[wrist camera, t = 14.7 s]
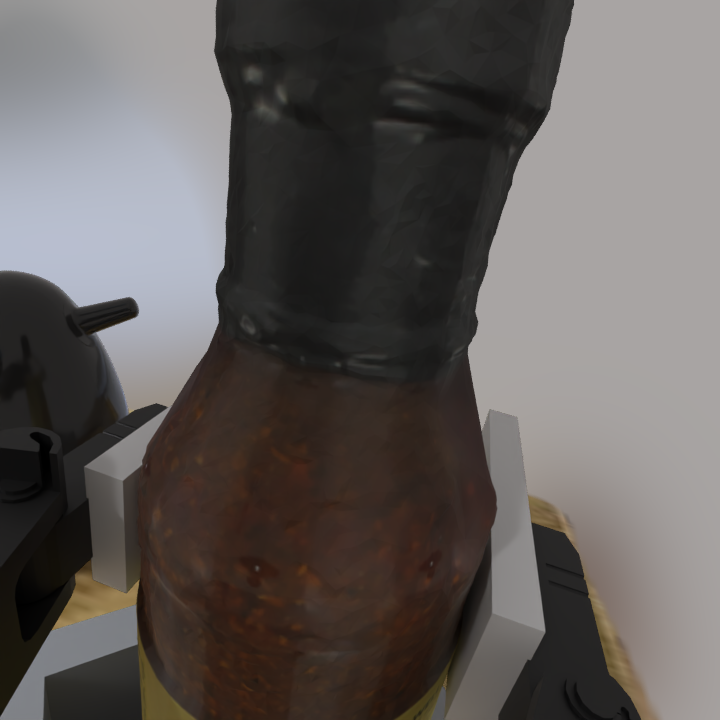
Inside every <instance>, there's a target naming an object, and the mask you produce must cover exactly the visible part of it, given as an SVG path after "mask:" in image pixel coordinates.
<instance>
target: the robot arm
mask: <svg viewBox="0 0 720 720" xmlns="http://www.w3.org/2000/svg"><path fill="white" fill-rule="evenodd" d="M171 407H172V405H171V406H170V407H166V406H163V405H160V404H157V403H156V404H153V405H150V406H147V407H144V408H141V409H137V410H134V411H133V412H131V413H130V414H128V415H127V416H125V417H124V418H122V419H120V420H119V421H118V422H117V424H113V425H111V426H110V427H108V428H107V429H105V430H103V433H99V434H97V435H96V436H94V437H93V438H91V439H89V440H88V441H86V442H85V443H83V444H82V445H80V446H79V447H77V448H76V449H74V450H72V451H71V452H69V453H68V454H66V455H65V456H63V452H62V443H61V439H60V436H58V435H57V434H55V433H54V432H53V431H51V430H47V429H43V428H39V427H18V428H12V429H6V430H1V431H0V717H1V715H2V713H3V712H4V710H5V708H6V706H7V705H8V703H9V701H10V700H11V698H12V696H13V695H14V693H15V691H16V689H17V688H18V686H19V684H20V683H21V681H22V679H23V678H24V676H25V674H26V672H27V671H28V669H29V667H30V666H31V664H32V662H33V661H34V659H35V657H36V655H37V654H38V652H39V650H40V649H41V647H42V645H43V644H44V642H45V640H46V638H47V637H48V635H49V633H50V632H51V630H52V628H53V627H54V625H55V623H56V622H57V620H58V618H59V616H60V615H61V613H62V611H63V610H64V608H65V606H66V605H67V603H68V601H69V599H70V598H71V596H72V593H73V590H74V588H75V585H76V584H75V573H76V572H77V571H78V570H79V569H80V568H82V567H83V566H84V565H85V564H86V563H87V562H88V561H89V560H90V559H91V564H92V577H93V580H95V581H97V582H100V583H102V584H105V585H107V586H110V587H112V588H115V589H117V590H119V591H122V592H124V593H127V592H128V591H129V590H130V589H131V588H132V587H133V585H134V584H135V583H136V582H137V581H138V580H139V579H140V571H141V547H140V546H139V545H138V541H139V538H138V527H137V519H138V516H139V512H138V503H137V501H138V494H137V492H138V487H139V476H140V473H141V468H142V459H143V457H144V455H145V453H146V447H147V445H148V443H149V441H150V440H151V438H152V437H153V435H154V434H155V432H156V431H157V429H158V428H159V426H160V424H161V423H162V421H163V420H164V418H165V416H166V415H167V413H168V412H169V410H170V408H171ZM482 437H483V443H484V448H485V454H486V460H487V465H488V469H489V473H490V476H491V480H492V484H493V486H494V489H495V491H496V496H497V503H496V504H497V508H498V509H497V513H496V517H495V522H494V525H493V526H492V528H491V530H490V533H489V537H488V541H487V544H486V547H485V550H484V554H483V558H482V561H481V563H480V565H479V568H478V570H477V572H476V574H475V577H474V581H473V584H472V586H471V588H470V592H469V593H468V595H467V598H466V601H465V604H464V607H463V620H462V629H461V634H460V638H459V642H458V645H457V648H456V650H455V653H454V656H453V658H452V661H451V664H450V667H449V669H448V675H447V687H446V700H445V712H444V720H641V718H640V716H639V714H638V712H637V710H636V708H635V706H634V704H633V702H632V700H631V698H630V697H629V696H628V694H627V693H626V692H625V691H624V690H623V688H622V687H621V686H620V685H619V684H618V682H617V681H616V680H615V679H614V678H613V677H611V676H610V675H609V672H608V669H607V665H606V661H605V657H604V653H603V649H602V645H601V641H600V637H599V633H598V629H597V625H596V621H595V617H594V613H593V609H592V605H591V601H590V598H588V594H589V593H588V589H587V585H586V581H585V580H584V573H583V569H582V565H581V561H580V557H579V554H578V552H577V551H576V549H575V548H574V546H573V545H572V543H571V542H570V541H569V539H568V538H567V536H566V535H565V533H563V532H559V531H556V530H553V529H550V528H547V527H544V526H541V525H538V524H535V523H531V517H530V510H529V502H528V494H527V487H526V479H525V471H524V464H523V456H522V450H521V441H520V433H519V426H518V418H517V417H515V416H512V415H508V414H505V413H501V412H498V411H494V410H489V413H488V416H487V418H486V422H485V424H484V427H483V430H482Z"/></svg>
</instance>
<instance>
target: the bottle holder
mask: <svg viewBox="0 0 720 720" xmlns="http://www.w3.org/2000/svg"><path fill="white" fill-rule="evenodd" d="M445 700H446V690H445V689H444V687H443V686H442V688H441V691H440V694H439V697H438V700H437V703H436V706H435V709H434V712H433V715H432V718H431V720H444V712H445ZM0 720H142V705H141V687H140V669H139V654H138V641H137V615H136V605H133V606H130V607H127V608H124V609H120V610H117V611H114V612H111V613H107V614H104V615H101V616H98V617H94V618H91V619H88V620H85V621H81V622H78V623H75V624H72V625H68V626H65V627H62V628H58V629H55V630H52V631H51V632H50V633H49V635H48V637H47V638H46V640H45V642H44V644H43V645H42V647H41V649H40V650H39V652H38V654H37V655H36V657H35V659H34V661H33V662H32V664H31V666H30V667H29V669H28V671H27V672H26V674H25V676H24V678H23V679H22V681H21V683H20V684H19V686H18V688H17V689H16V691H15V693H14V695H13V696H12V698H11V700H10V701H9V703H8V705H7V706H6V708H5V710H4V712H3V713H2V715H1V717H0Z"/></svg>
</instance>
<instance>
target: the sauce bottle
mask: <svg viewBox="0 0 720 720" xmlns="http://www.w3.org/2000/svg"><path fill="white" fill-rule="evenodd" d="M573 6H574V0H217V5H216V41H215V49H214V52H215V56H216V59H217V63H218V66H219V70H220V73H221V77H222V80H223V83H224V86H225V89H226V92H227V94H228V97H229V100H230V105H231V112H232V118H231V132H230V154H229V188H228V199H227V217H226V247H225V266H224V268H223V270H222V271H221V273H220V274H219V277H218V280H217V283H216V295H217V300H218V303H219V305H218V312H219V313H218V314H219V324H218V326H217V329H216V331H215V334H214V336H213V339H212V341H211V343H210V346H209V348H208V351H207V352H206V354H205V355H204V357H203V358H202V359H201V361H200V362H199V364H198V365H197V366H196V368H195V370H194V372H193V373H192V374H191V376H190V378H189V380H188V381H187V383H186V384H185V386H184V388H183V389H182V391H181V392H180V394H179V395H178V397H177V399H176V400H175V402H174V403H173V405H172V407H171V408H170V410H169V412H168V413H167V415H166V416H165V418H164V420H163V421H162V423H161V424H160V426H159V428H158V429H157V431H156V432H155V434H154V435H153V437H152V438H151V440H150V441H149V443H148V445H147V447H146V453H145V455H144V457H143V459H142V468H141V473H140V476H139V487H138V492H137V494H138V501H137V503H138V512H139V516H138V519H137V527H138V538H139V541H138V545H139V546H140V547H141V571H140V581H139V588H138V594H137V603H136V615H137V641H138V654H139V669H140V687H141V705H142V720H431V718H432V715H433V712H434V709H435V706H436V703H437V700H438V697H439V694H440V691H441V688H442V686H443V683H444V680H445V678H446V675H447V672H448V669H449V667H450V664H451V661H452V658H453V656H454V653H455V650H456V648H457V645H458V642H459V638H460V634H461V629H462V620H463V607H464V604H465V601H466V598H467V595H468V593H469V592H470V588H471V586H472V584H473V581H474V577H475V574H476V572H477V570H478V568H479V565H480V563H481V561H482V558H483V554H484V550H485V547H486V544H487V541H488V537H489V533H490V530H491V528H492V526H493V525H494V522H495V517H496V513H497V509H498V508H497V504H496V503H497V496H496V491H495V489H494V486H493V484H492V480H491V476H490V473H489V469H488V465H487V460H486V454H485V448H484V443H483V437H482V431H481V426H480V421H479V415H478V410H477V405H476V399H475V394H474V388H473V382H472V377H471V371H470V365H469V359H468V346H469V344H470V343H471V341H472V338H473V337H474V336H475V334H476V330H477V326H478V320H477V317H476V313H475V309H476V303H477V296H478V292H479V289H480V286H481V284H482V281H483V278H484V276H485V272H486V269H487V266H488V255H489V250H490V247H491V244H492V241H493V237H494V235H495V233H496V229H497V227H498V223H499V220H500V217H501V214H502V210H503V207H504V205H505V202H506V199H507V195H508V192H509V190H510V188H511V185H512V179H513V174H514V172H515V169H516V166H517V163H518V161H519V159H520V157H521V155H522V153H523V151H524V149H525V148H526V146H527V145H528V144H529V143H530V141H531V140H532V139H533V137H534V136H535V135H536V133H537V131H538V129H539V128H540V126H541V125H542V123H543V122H544V120H545V118H546V116H547V114H548V112H549V110H550V105H551V99H552V94H553V90H554V87H555V84H556V79H557V75H558V72H559V67H560V63H561V58H562V53H563V47H564V42H565V37H566V34H567V31H568V29H569V26H570V22H571V14H572V9H573Z"/></svg>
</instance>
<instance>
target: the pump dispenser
mask: <svg viewBox="0 0 720 720" xmlns="http://www.w3.org/2000/svg"><path fill="white" fill-rule="evenodd" d="M138 314H139V308H138V305H137V303H136V301H135V300H134V299H133V298H130V297H128V298H122V299H118V300H113V301H108V302H103V303H98V304H94V305H89V306H84V307H78V306H77V305H76V304H75V303H74V302H73V301H72V300H71V299H70V298H69V296H68V295H67V294H66V293H65V292H64V291H63V290H61V289H60V288H59V287H58V286H56V285H55V284H53V283H51V282H50V281H48V280H46V279H43V278H41V277H39V276H36V275H32V274H29V273H24V272H18V271H0V431H1V430H6V429H12V428H18V427H39V428H43V429H47V430H51V431H53V432H54V433H55V434H57V435H58V436H60V439H61V443H62V452H63V456H65V455H66V454H68V453H69V452H71V451H72V450H74V449H76V448H77V447H79V446H80V445H82V444H83V443H85V442H86V441H88V440H89V439H91V438H93V437H94V436H96V435H97V434H99V433H103V430H105V429H107V428H108V427H110V426H111V425H113V424H117V422H118V421H119V420H120V419H122V418H124V417H125V416H127V415H128V414H129V410H128V406H127V402H126V399H125V395H124V392H123V389H122V386H121V383H120V381H119V378H118V376H117V373H116V371H115V368H114V366H113V364H112V362H111V359H110V357H109V355H108V353H107V351H106V349H105V348H104V346H103V344H102V342H101V340H100V339H99V337H98V335H97V334H96V332H99V331H101V330H104V329H106V328H109V327H112V326H114V325H117V324H120V323H122V322H125V321H127V320H130V319H133V318H135V317H137V316H138Z"/></svg>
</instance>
